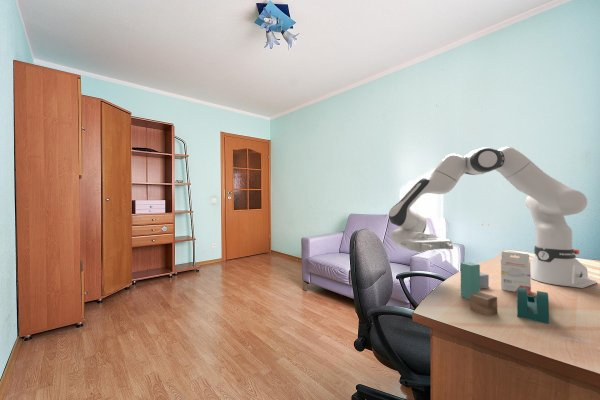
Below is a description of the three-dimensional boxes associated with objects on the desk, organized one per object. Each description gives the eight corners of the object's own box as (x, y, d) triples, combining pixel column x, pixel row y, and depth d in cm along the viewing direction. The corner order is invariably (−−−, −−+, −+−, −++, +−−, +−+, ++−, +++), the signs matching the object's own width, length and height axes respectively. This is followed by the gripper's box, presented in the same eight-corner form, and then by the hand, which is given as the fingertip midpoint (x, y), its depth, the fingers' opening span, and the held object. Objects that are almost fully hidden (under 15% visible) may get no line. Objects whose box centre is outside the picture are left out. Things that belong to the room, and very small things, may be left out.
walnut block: (479, 307, 84) (479, 291, 84) (497, 313, 79) (497, 297, 79) (470, 310, 82) (470, 294, 82) (487, 316, 77) (487, 299, 77)
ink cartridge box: (530, 291, 97) (530, 252, 97) (530, 295, 94) (530, 254, 94) (502, 286, 103) (502, 249, 103) (500, 289, 99) (500, 251, 99)
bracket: (548, 324, 72) (548, 296, 72) (517, 317, 77) (517, 291, 77) (544, 304, 86) (544, 280, 86) (517, 299, 90) (517, 276, 90)
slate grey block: (477, 283, 107) (476, 271, 107) (488, 287, 102) (488, 274, 102) (467, 284, 106) (467, 272, 106) (478, 288, 101) (478, 275, 101)
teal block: (469, 294, 94) (469, 262, 94) (479, 299, 90) (479, 264, 90) (460, 296, 93) (460, 262, 93) (470, 300, 89) (470, 265, 89)
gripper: (398, 235, 114) (420, 240, 101) (436, 234, 119) (462, 239, 106) (397, 249, 114) (419, 256, 101) (436, 248, 119) (462, 254, 106)
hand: (442, 247), depth 103 cm, fingers open, 8 cm apart
